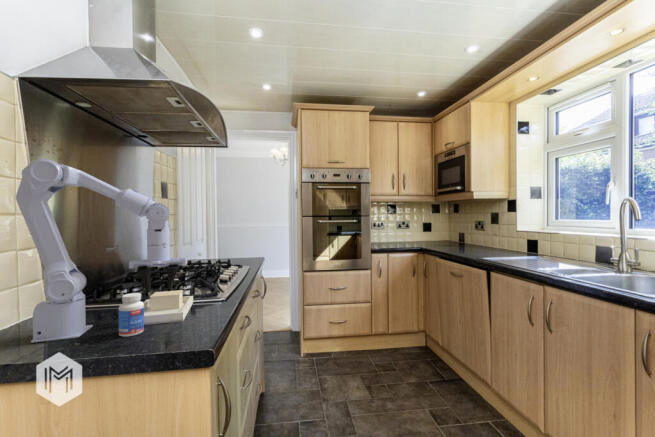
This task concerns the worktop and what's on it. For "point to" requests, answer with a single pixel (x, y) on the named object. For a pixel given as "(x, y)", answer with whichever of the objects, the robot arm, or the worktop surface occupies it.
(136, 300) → the pill bottle
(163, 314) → the white tray
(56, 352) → the worktop surface
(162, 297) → the egg box
